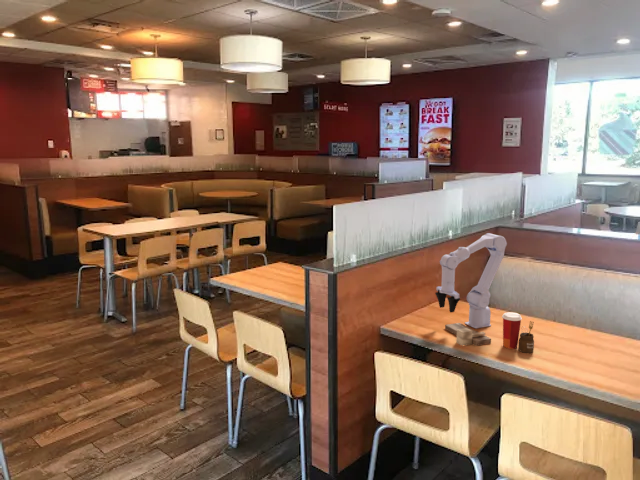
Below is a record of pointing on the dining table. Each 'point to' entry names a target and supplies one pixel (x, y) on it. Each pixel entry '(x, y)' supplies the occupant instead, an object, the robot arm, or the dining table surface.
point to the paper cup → (511, 329)
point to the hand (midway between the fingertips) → (446, 309)
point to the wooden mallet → (466, 336)
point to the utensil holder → (526, 341)
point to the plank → (475, 340)
